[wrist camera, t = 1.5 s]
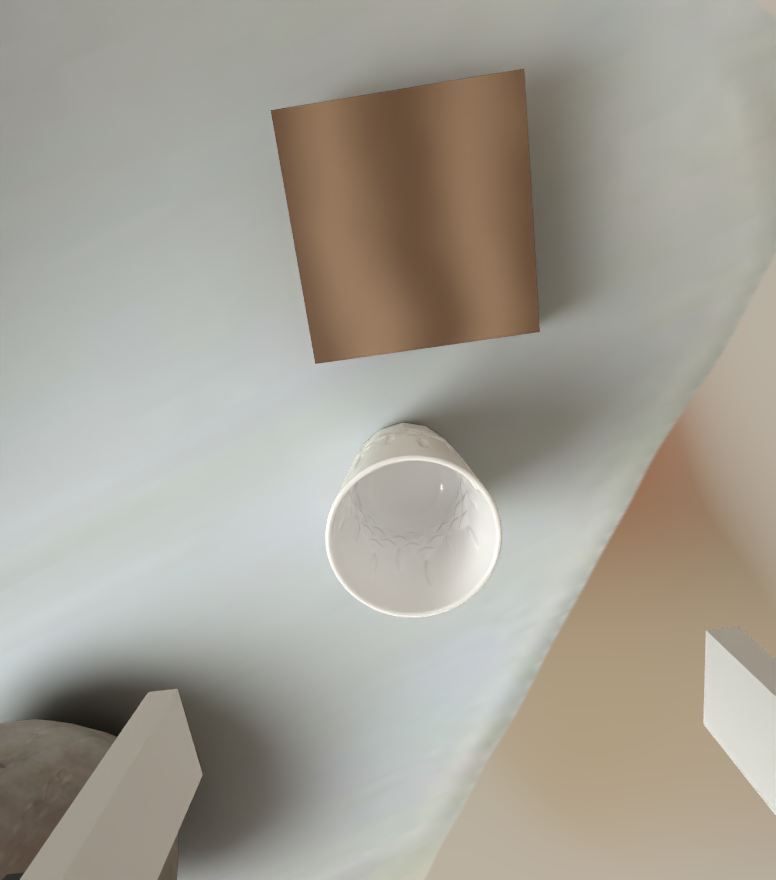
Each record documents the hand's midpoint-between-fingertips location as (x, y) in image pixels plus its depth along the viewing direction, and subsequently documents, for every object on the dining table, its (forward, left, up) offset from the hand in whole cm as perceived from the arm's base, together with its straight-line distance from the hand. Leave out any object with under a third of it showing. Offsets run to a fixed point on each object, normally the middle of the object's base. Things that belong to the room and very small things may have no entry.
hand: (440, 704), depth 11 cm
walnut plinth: (+2, +14, -19) cm, 24 cm away
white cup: (0, 0, -19) cm, 19 cm away
